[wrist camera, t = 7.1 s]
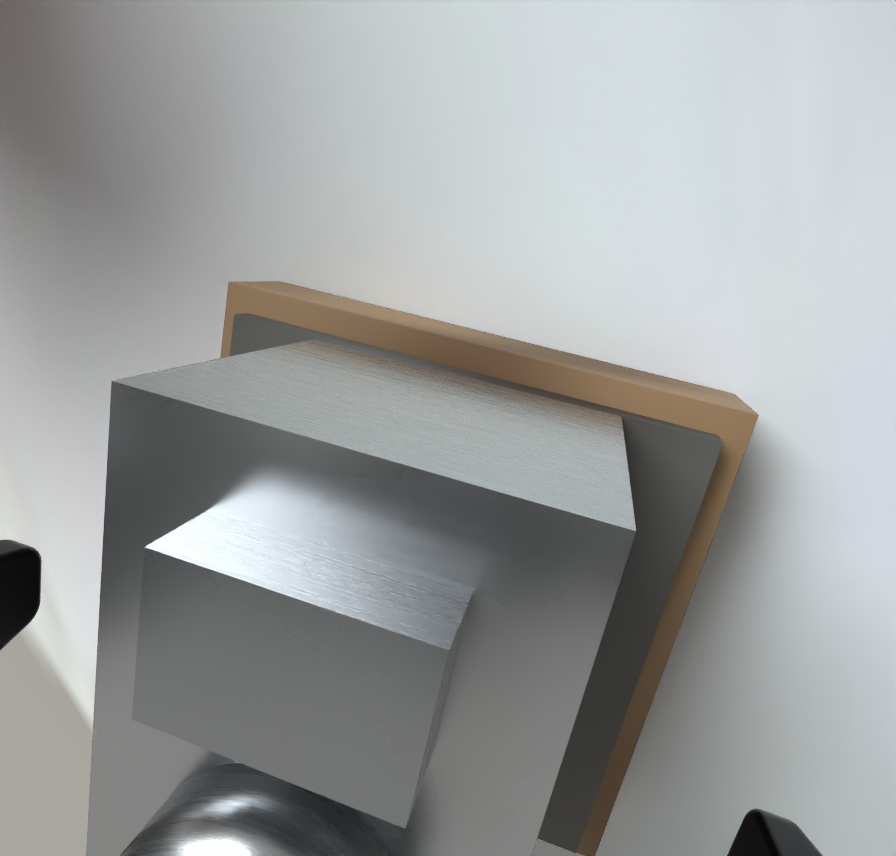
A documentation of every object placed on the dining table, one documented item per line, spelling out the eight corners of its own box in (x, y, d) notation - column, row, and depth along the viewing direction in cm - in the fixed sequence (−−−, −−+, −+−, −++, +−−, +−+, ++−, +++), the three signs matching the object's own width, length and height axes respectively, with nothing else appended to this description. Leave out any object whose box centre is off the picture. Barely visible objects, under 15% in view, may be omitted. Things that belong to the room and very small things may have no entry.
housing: (621, 416, 8) (645, 597, 4) (502, 814, 10) (415, 1272, 6) (316, 338, 9) (5, 402, 4) (260, 721, 11) (2, 1053, 6)
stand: (734, 393, 10) (765, 421, 8) (595, 786, 12) (593, 880, 10) (279, 281, 11) (213, 281, 9) (230, 650, 13) (169, 711, 12)
